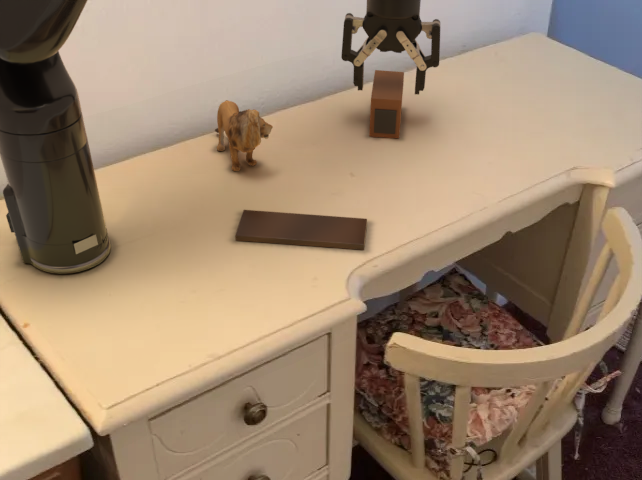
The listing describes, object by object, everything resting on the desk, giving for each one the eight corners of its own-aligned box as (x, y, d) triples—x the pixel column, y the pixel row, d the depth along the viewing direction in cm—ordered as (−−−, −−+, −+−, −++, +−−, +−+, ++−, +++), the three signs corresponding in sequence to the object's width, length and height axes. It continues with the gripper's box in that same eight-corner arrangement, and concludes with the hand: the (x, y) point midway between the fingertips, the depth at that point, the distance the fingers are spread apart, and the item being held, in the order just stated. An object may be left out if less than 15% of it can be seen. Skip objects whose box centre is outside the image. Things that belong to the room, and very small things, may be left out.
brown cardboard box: (369, 137, 125) (370, 98, 121) (373, 107, 132) (375, 69, 128) (399, 139, 125) (401, 101, 121) (401, 109, 132) (404, 71, 128)
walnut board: (235, 240, 104) (235, 235, 103) (243, 214, 108) (243, 209, 107) (363, 250, 104) (364, 244, 103) (367, 223, 108) (367, 218, 107)
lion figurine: (278, 174, 116) (276, 112, 110) (243, 183, 113) (239, 121, 107) (231, 130, 124) (226, 70, 118) (198, 138, 122) (191, 77, 116)
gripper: (340, -19, 111) (339, 98, 123) (446, -12, 111) (435, 104, 123) (345, -37, 117) (343, 76, 128) (446, -30, 117) (436, 83, 128)
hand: (388, 90), depth 125 cm, fingers open, 8 cm apart
